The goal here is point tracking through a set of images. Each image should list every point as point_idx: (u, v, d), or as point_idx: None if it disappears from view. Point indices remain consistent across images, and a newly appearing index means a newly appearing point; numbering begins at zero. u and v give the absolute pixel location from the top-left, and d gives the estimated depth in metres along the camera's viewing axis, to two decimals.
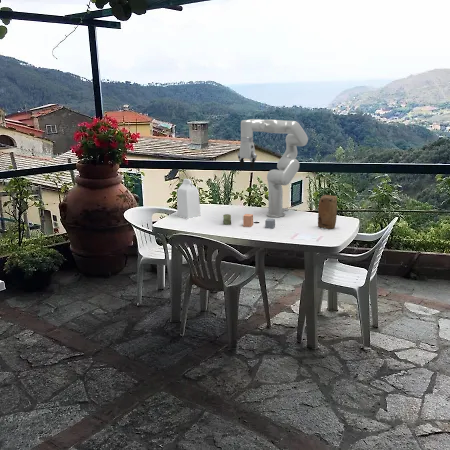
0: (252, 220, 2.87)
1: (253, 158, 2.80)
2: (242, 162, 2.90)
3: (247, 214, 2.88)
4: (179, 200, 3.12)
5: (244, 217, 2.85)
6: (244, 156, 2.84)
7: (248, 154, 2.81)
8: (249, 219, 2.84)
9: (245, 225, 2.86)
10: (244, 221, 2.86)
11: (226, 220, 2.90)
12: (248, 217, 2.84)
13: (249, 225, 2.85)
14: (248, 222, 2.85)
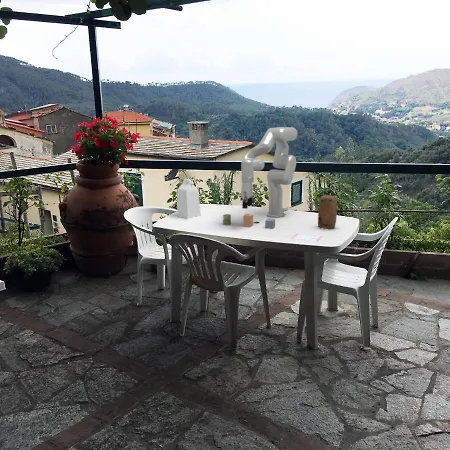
0: (252, 220, 2.87)
1: None
2: None
3: (247, 214, 2.88)
4: (179, 200, 3.12)
5: (244, 217, 2.85)
6: (250, 195, 2.82)
7: (252, 192, 2.85)
8: (249, 219, 2.84)
9: (245, 225, 2.86)
10: (244, 221, 2.86)
11: (226, 220, 2.90)
12: (248, 217, 2.84)
13: (249, 225, 2.85)
14: (248, 222, 2.85)
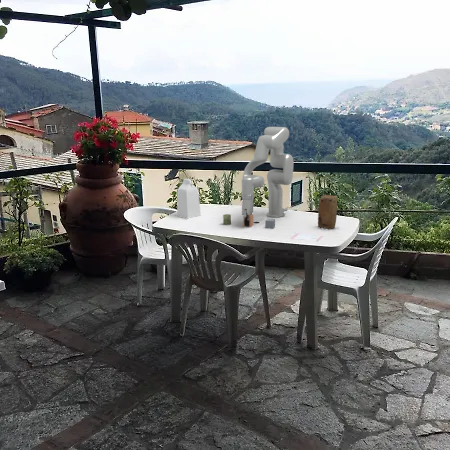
0: (252, 220, 2.87)
1: None
2: None
3: (247, 214, 2.88)
4: (179, 200, 3.12)
5: None
6: (251, 212, 2.85)
7: None
8: (249, 219, 2.84)
9: None
10: None
11: (226, 220, 2.90)
12: None
13: (249, 225, 2.85)
14: None
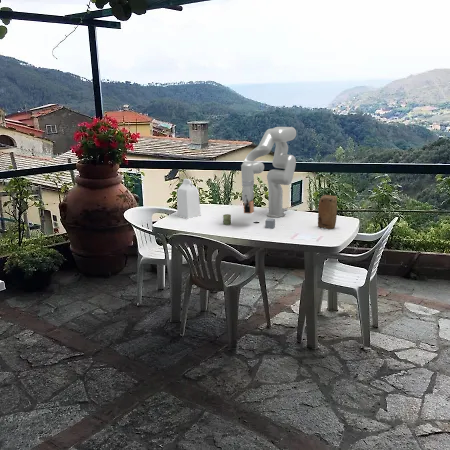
0: (252, 206, 2.85)
1: None
2: None
3: None
4: (179, 200, 3.12)
5: (244, 204, 2.83)
6: (251, 198, 2.83)
7: (253, 195, 2.86)
8: (250, 206, 2.82)
9: None
10: (244, 208, 2.84)
11: (226, 220, 2.90)
12: None
13: None
14: None
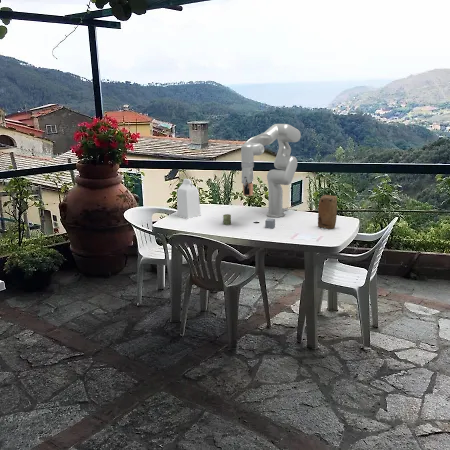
0: (252, 189, 2.83)
1: None
2: None
3: None
4: (179, 200, 3.12)
5: None
6: (251, 180, 2.80)
7: None
8: (249, 188, 2.79)
9: None
10: None
11: (226, 220, 2.90)
12: None
13: (249, 194, 2.81)
14: None
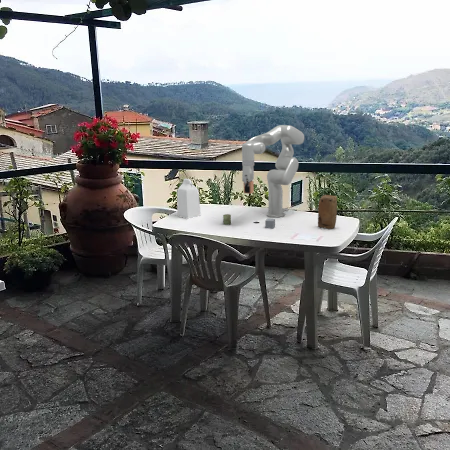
0: (252, 187, 2.86)
1: (252, 180, 2.89)
2: None
3: (247, 181, 2.86)
4: (179, 200, 3.12)
5: (244, 184, 2.83)
6: (251, 179, 2.84)
7: (253, 175, 2.87)
8: (250, 186, 2.83)
9: None
10: (244, 188, 2.84)
11: (226, 220, 2.90)
12: None
13: None
14: None
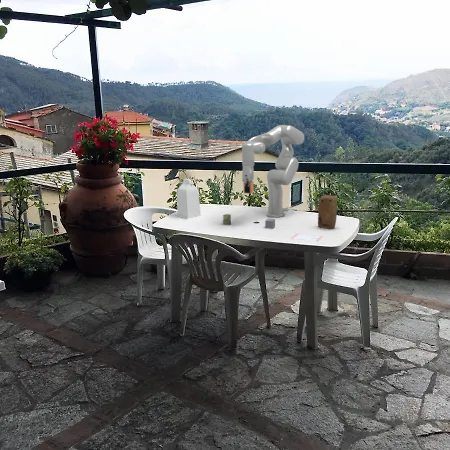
0: (252, 187, 2.86)
1: (252, 180, 2.89)
2: None
3: (247, 181, 2.86)
4: (179, 200, 3.12)
5: (244, 184, 2.83)
6: (251, 179, 2.84)
7: (253, 175, 2.87)
8: (250, 186, 2.83)
9: None
10: (244, 188, 2.84)
11: (226, 220, 2.90)
12: None
13: None
14: None
